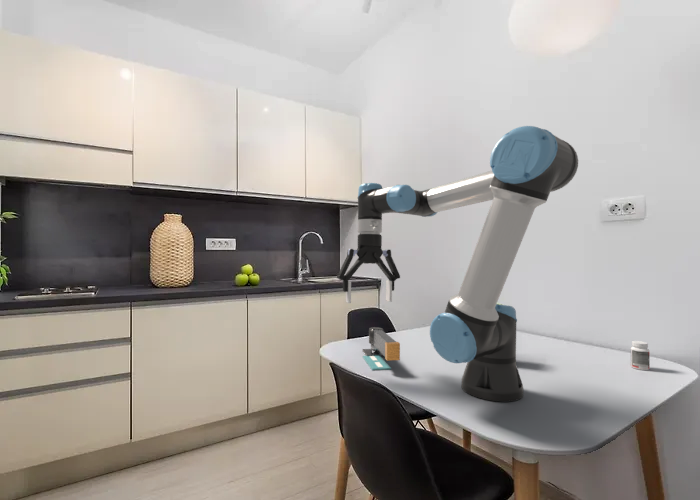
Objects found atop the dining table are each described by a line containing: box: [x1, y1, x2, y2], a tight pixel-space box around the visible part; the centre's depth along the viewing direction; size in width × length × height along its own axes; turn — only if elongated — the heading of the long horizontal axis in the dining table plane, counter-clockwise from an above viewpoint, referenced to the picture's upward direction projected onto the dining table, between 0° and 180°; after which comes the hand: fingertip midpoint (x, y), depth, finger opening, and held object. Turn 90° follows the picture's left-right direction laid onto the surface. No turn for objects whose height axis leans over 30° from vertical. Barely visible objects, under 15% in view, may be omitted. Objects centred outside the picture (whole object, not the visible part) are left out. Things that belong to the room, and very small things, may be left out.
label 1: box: [362, 355, 385, 364], centre depth 121 cm, size 7×6×1 cm
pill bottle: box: [630, 340, 651, 371], centre depth 116 cm, size 5×5×8 cm
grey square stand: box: [362, 344, 385, 358], centre depth 129 cm, size 8×8×4 cm
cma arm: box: [368, 326, 401, 362], centre depth 119 cm, size 24×5×5 cm, turn 10°
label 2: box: [366, 360, 392, 371], centre depth 114 cm, size 7×6×1 cm
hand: (368, 302), depth 112 cm, fingers open, 13 cm apart
